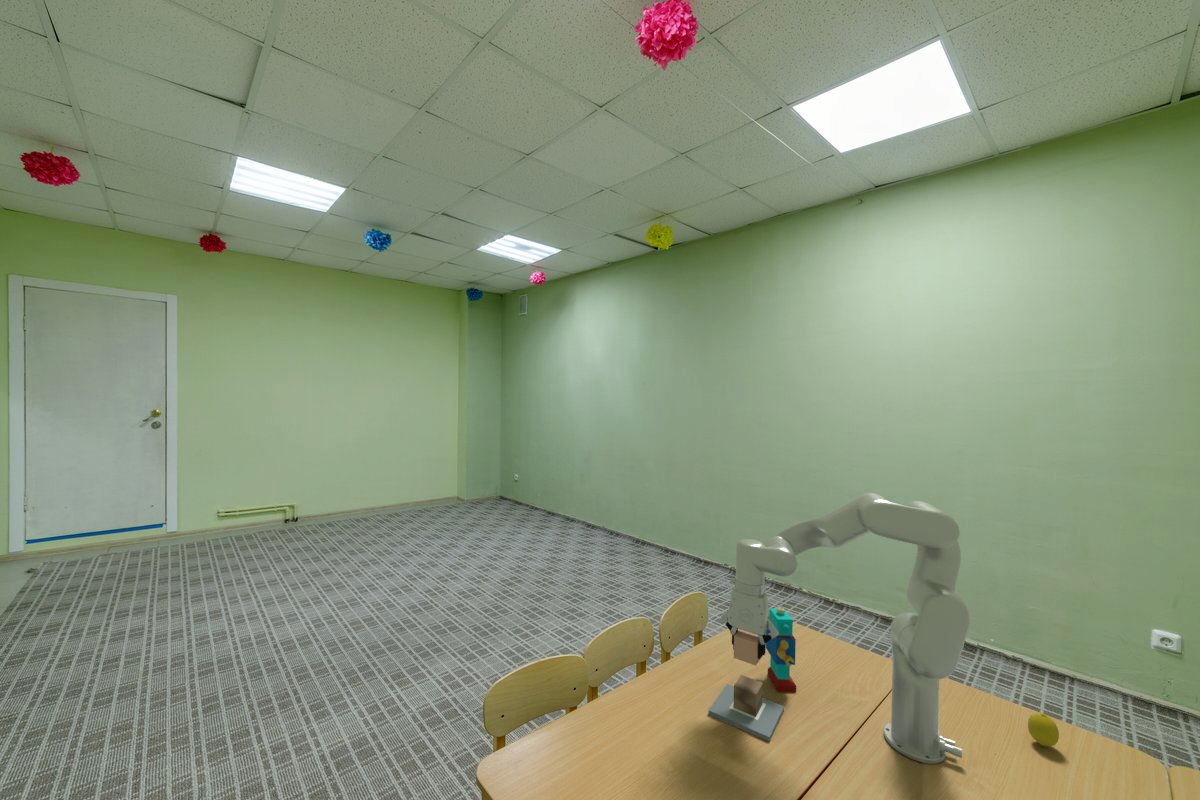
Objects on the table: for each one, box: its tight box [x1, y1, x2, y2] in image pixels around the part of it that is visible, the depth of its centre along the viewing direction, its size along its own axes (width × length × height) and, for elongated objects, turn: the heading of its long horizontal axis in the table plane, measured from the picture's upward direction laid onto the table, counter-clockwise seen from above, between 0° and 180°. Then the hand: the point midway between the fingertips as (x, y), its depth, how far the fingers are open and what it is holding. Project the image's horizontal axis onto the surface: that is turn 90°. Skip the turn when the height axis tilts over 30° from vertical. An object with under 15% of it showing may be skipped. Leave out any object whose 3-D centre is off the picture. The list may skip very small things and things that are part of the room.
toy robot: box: [766, 600, 797, 693], centre depth 136 cm, size 12×6×25 cm, turn 179°
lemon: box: [1027, 712, 1060, 747], centre depth 112 cm, size 6×6×8 cm
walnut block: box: [733, 674, 764, 717], centre depth 124 cm, size 6×6×6 cm
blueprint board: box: [707, 683, 785, 742], centre depth 123 cm, size 16×14×1 cm
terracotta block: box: [733, 629, 761, 667], centre depth 123 cm, size 6×6×6 cm
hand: (748, 651), depth 123 cm, fingers closed on terracotta block, 6 cm apart
